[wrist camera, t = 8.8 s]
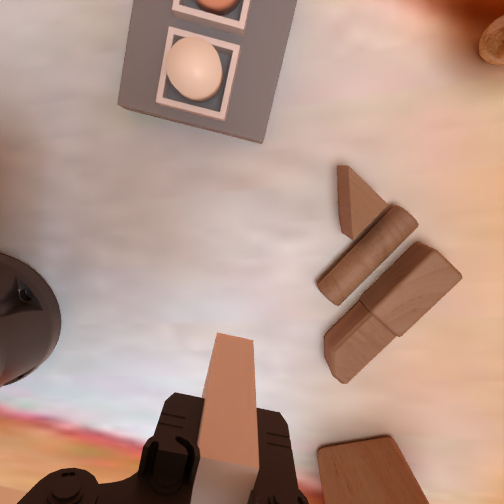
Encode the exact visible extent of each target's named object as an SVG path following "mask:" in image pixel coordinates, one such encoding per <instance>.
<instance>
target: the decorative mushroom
mask: <svg viewBox="0 0 504 504" xmlns="http://www.w3.org/2000/svg"><path fill="white" fill-rule="evenodd" d="M479 54H480V56H481V57H482V59H484V60H485V61H486V62H488V63H490V64H495V65H501V64H504V15H502V16H501V17H499V18H498V19H496V20H495V21H494V22H492V23H491V24H490V25H489V26H488V27H487V28H486V30H485V31H484V32H483V34H482V36H481V38H480V42H479Z"/></svg>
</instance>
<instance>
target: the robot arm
mask: <svg viewBox="0 0 504 504" xmlns="http://www.w3.org/2000/svg"><path fill="white" fill-rule="evenodd" d="M60 327H61V319H60V312H59V307H58V304H57V301H56V299H55V297H54V295H53V293H52V291H51V289H50V288H49V286H48V285H47V284H46V282H45V281H44V280H43V279H42V278H41V277H40V276H39V275H38V274H37V273H36V272H35V271H34V270H33V269H31V268H30V267H29V266H27V265H26V264H24V263H22V262H21V261H19V260H17V259H15V258H12V257H10V256H7V255H4V254H0V387H2V386H5V385H8V384H11V383H14V382H16V381H19V380H21V379H23V378H24V377H26V376H28V375H29V374H30V373H32V372H33V371H34V370H35V369H37V368H38V367H39V366H40V365H41V364H42V363H43V362H44V361H45V360H46V359H47V358H48V357H49V355H50V354H51V353H52V351H53V350H54V348H55V346H56V344H57V341H58V338H59V334H60ZM289 438H290V435H289V429H288V424H287V423H286V421H285V420H284V418H283V417H282V415H281V413H280V412H275V411H270V410H265V409H260V408H256V389H255V368H254V347H253V340H249V339H244V338H240V337H235V336H231V335H226V334H221V333H217V335H216V339H215V344H214V348H213V352H212V356H211V360H210V364H209V369H208V373H207V377H206V381H205V385H204V389H203V394H202V398H200V397H195V396H190V395H185V394H180V393H174V394H172V395H171V396H170V397H169V398H168V399H167V400H166V401H165V403H164V406H163V409H162V412H161V415H160V418H159V421H158V424H157V427H156V430H155V433H154V436H152V437H151V438H149V439H148V440H147V442H146V443H145V445H144V446H143V451H142V456H141V460H140V465H139V470H138V472H137V473H135V474H134V475H132V476H131V477H129V478H127V479H124V480H122V481H118V482H113V483H104V484H98V482H97V480H96V478H95V477H94V476H93V475H92V474H91V473H89V472H88V471H86V470H82V469H78V468H67V469H60V470H58V471H55V472H52V473H50V474H48V475H47V476H46V477H44V478H43V479H42V480H40V481H39V482H38V483H37V484H36V485H35V486H34V487H33V488H32V489H31V490H30V491H29V492H28V493H27V494H26V495H25V496H24V497H23V498H22V499H21V500H20V501H19V502H18V503H17V504H309V503H308V500H307V498H306V497H305V496H304V494H303V493H302V492H301V491H300V490H299V489H298V484H297V478H296V472H295V465H294V459H293V453H292V449H291V441H290V439H289Z"/></svg>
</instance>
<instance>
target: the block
mask: <svg viewBox="0 0 504 504" xmlns="http://www.w3.org/2000/svg"><path fill="white" fill-rule="evenodd" d="M317 459H318V466H319V472H320V478H321V484H322V490H323V496H324V502H325V504H429V502H428V500H427V499H426V497H425V495H424V493H423V491H422V489H421V488H420V486H419V484H418V482H417V480H416V478H415V477H414V475H413V473H412V471H411V469H410V467H409V466H408V464H407V462H406V460H405V458H404V456H403V455H402V453H401V451H400V449H399V447H398V445H397V444H396V442H395V441H394V440H393V439H392V438H389V437H383V438H377V439H371V440H365V441H359V442H353V443H347V444H341V445H335V446H329V447H323V448H321V449H320V450H319V453H318V457H317Z"/></svg>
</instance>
